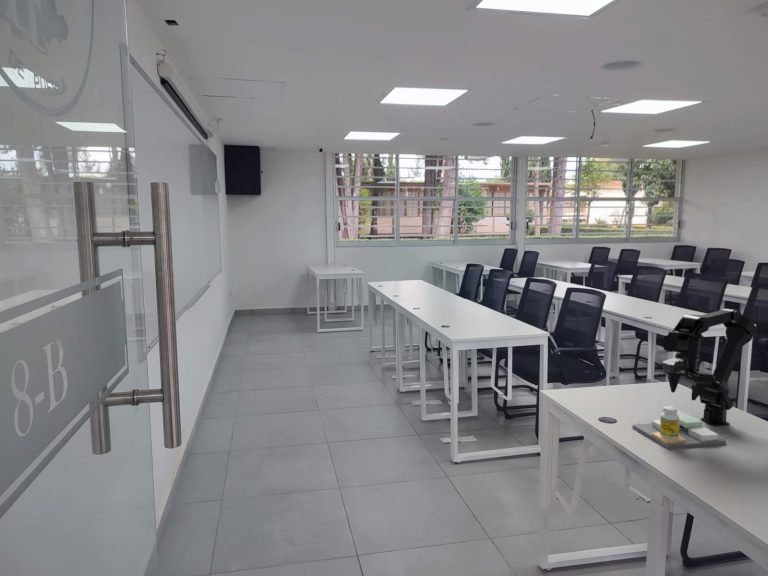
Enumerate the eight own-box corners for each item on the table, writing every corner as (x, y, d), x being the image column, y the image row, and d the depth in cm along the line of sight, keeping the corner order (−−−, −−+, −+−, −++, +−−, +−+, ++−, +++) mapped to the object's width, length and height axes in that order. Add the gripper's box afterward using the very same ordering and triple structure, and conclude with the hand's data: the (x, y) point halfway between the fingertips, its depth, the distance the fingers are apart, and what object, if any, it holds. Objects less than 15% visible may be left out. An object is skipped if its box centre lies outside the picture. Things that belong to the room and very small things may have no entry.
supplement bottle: (679, 435, 173) (681, 407, 172) (676, 440, 169) (678, 412, 168) (661, 431, 176) (663, 404, 175) (658, 436, 172) (659, 408, 171)
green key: (677, 417, 190) (677, 409, 189) (702, 430, 178) (702, 421, 178) (662, 418, 189) (662, 410, 188) (686, 431, 177) (686, 423, 177)
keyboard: (685, 423, 188) (686, 415, 188) (725, 443, 171) (726, 435, 170) (632, 427, 185) (632, 419, 185) (667, 449, 167) (668, 440, 167)
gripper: (649, 345, 187) (644, 387, 189) (690, 357, 169) (683, 404, 170) (676, 346, 190) (670, 388, 191) (719, 358, 172) (712, 404, 173)
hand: (682, 396), depth 181 cm, fingers open, 9 cm apart
